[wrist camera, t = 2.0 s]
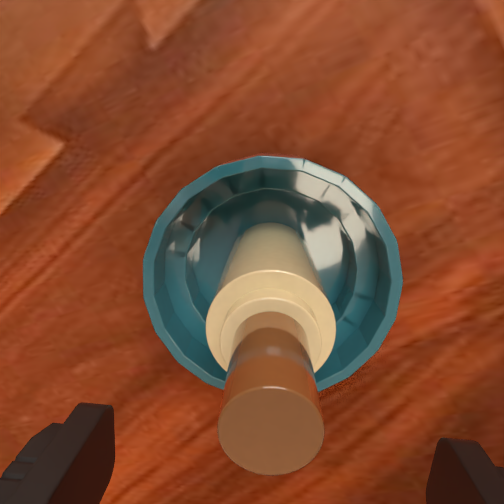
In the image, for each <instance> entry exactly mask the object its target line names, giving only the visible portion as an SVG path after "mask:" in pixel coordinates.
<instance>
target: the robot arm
mask: <svg viewBox="0 0 504 504" xmlns="http://www.w3.org/2000/svg"><path fill="white" fill-rule="evenodd" d="M114 462H115V435H114V410H113V407H112V406H111V405H103V404H93V403H79V404H78V405H77V406H76V407H75V409H74V410H73V411H72V413H71V414H70V415H69V417H68V418H67V419H66V421H65V422H64V424H60V423H52V424H51V425H49V426H48V427H46V428H45V429H43V430H42V431H41V432H39V433H38V434H36V435H35V436H34V437H32V438H31V439H30V440H29V442H28V443H27V444H26V445H25V447H24V448H23V449H22V450H21V451H20V453H19V454H18V455H17V456H16V459H15V461H12V463H11V464H10V465H9V466H8V467H7V469H6V470H5V471H4V472H3V474H2V477H1V478H0V504H99V503H100V501H101V499H102V497H103V495H104V492H105V490H106V488H107V486H108V484H109V481H110V479H111V476H112V472H113V468H114ZM426 502H427V504H504V468H503V467H496V466H495V465H494V464H493V463H492V461H491V460H490V458H489V457H488V455H487V454H486V453H485V451H484V450H483V448H482V447H481V446H480V444H479V443H478V442H476V441H473V440H463V439H452V438H441V439H440V440H439V441H438V443H437V447H436V451H435V455H434V459H433V463H432V467H431V471H430V475H429V479H428V483H427V487H426Z"/></svg>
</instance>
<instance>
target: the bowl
mask: <svg viewBox="0 0 504 504" xmlns="http://www.w3.org/2000/svg"><path fill="white" fill-rule="evenodd" d="M268 222H271V223H280V224H284V225H286V226H289V227H291V228H293V229H294V230H296V231H297V232H298V233H299V234H300V235H301V236H302V237H303V238H304V239H305V241H306V242H307V244H308V246H309V248H310V251H311V253H312V256H313V259H314V261H315V264H316V267H317V269H318V272H319V275H320V277H321V280H322V283H323V285H324V288H325V291H326V294H327V296H328V299H329V302H330V304H331V307H332V310H333V312H334V316H335V320H336V338H335V342H334V346H333V348H332V351H331V353H330V355H329V357H328V359H327V360H326V361H325V363H324V364H323V365H322V366H321V367H320V368H319V369H318V371H316V372H315V373H314V374H315V379H316V384H317V390H318V392H320V391H322V390H324V389H326V388H328V387H330V386H332V385H334V384H336V383H338V382H340V381H342V380H344V379H346V378H348V377H350V376H351V375H352V374H353V373H354V372H355V371H356V370H358V369H359V368H360V367H361V366H362V365H363V364H364V363H365V362H366V361H367V360H368V359H370V358H371V357H372V356H373V355H374V354H375V353H376V351H378V349H379V348H380V346H381V344H382V342H383V341H384V339H385V337H386V335H387V334H388V332H389V330H390V328H391V327H392V325H393V323H394V321H395V318H396V315H397V310H398V305H399V300H400V295H401V290H402V285H403V276H402V269H401V262H400V256H399V249H398V243H397V240H396V238H395V236H394V234H393V232H392V230H391V228H390V227H389V225H388V223H387V221H386V219H385V217H384V215H383V214H382V212H381V210H380V208H379V206H378V205H377V204H376V203H375V202H374V201H373V200H372V199H371V198H370V197H369V196H367V195H366V194H365V193H364V192H363V191H362V190H361V189H360V188H359V187H357V186H356V185H355V184H354V183H353V182H352V181H351V180H350V179H349V178H348V177H346V176H344V175H342V174H340V173H338V172H336V171H334V170H331V169H329V168H327V167H324V166H322V165H320V164H317V163H315V162H313V161H310V160H308V159H306V158H303V157H301V156H297V155H286V154H273V153H259V154H255V155H251V156H247V157H243V158H239V159H235V160H231V161H227V162H225V163H223V164H221V165H218V166H216V167H215V168H213V169H211V170H210V171H208V172H207V173H205V174H204V175H202V176H201V177H199V178H198V179H196V180H194V181H193V182H191V183H190V184H188V185H187V186H185V187H184V188H182V189H181V190H180V191H179V192H178V194H177V195H176V196H175V197H174V199H173V200H172V201H171V202H170V204H169V205H168V206H167V208H166V209H165V210H164V211H163V213H162V214H161V215H160V216H159V218H158V219H157V220H156V223H155V225H154V228H153V231H152V233H151V236H150V239H149V242H148V245H147V248H146V251H145V254H144V257H143V298H144V301H145V304H146V307H147V310H148V313H149V316H150V319H151V322H152V324H153V327H154V330H155V332H156V334H157V335H158V336H159V338H160V339H161V340H162V342H163V343H164V344H165V346H166V347H167V349H168V350H169V351H170V353H171V354H172V355H173V357H174V358H175V359H176V361H178V363H179V364H181V365H182V366H184V367H185V368H186V369H188V370H189V371H190V372H192V373H193V374H194V375H196V376H197V377H198V378H200V379H201V380H202V381H204V382H205V383H207V384H209V385H212V386H214V387H217V388H220V389H222V390H224V385H225V380H226V375H227V372H226V371H225V370H224V369H223V368H222V367H221V366H220V365H219V363H218V362H217V361H216V359H215V358H214V356H213V355H212V352H211V350H210V348H209V345H208V342H207V338H206V318H207V314H208V310H209V307H210V305H211V302H212V299H213V296H214V294H215V291H216V288H217V285H218V283H219V280H220V277H221V275H222V272H223V269H224V266H225V264H226V261H227V258H228V255H229V253H230V250H231V247H232V245H233V243H234V242H235V240H236V239H237V238H238V236H239V235H240V234H241V233H242V232H244V231H245V230H247V229H248V228H250V227H252V226H254V225H257V224H261V223H268Z"/></svg>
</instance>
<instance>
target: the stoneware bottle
mask: <svg viewBox="0 0 504 504" xmlns="http://www.w3.org/2000/svg"><path fill="white" fill-rule="evenodd" d="M206 338H207V342H208V345H209V348H210V350H211V352H212V355H213V356H214V358H215V359H216V361H217V362H218V363H219V365H220V366H221V367H222V368H223V369H224V370H225V371H226V372H227V375H226V380H225V385H224V391H223V396H222V402H221V407H220V412H219V418H218V424H217V433H218V439H219V442H220V444H221V446H222V448H223V450H224V452H225V453H226V455H227V456H228V457H229V458H230V459H231V460H232V461H233V462H234V463H236V464H237V465H238V466H240V467H242V468H244V469H246V470H248V471H250V472H253V473H257V474H262V475H283V474H288V473H291V472H294V471H296V470H299V469H301V468H302V467H304V466H305V465H307V464H308V463H309V462H311V461H312V460H313V459H314V457H315V456H316V455H317V454H318V452H319V450H320V448H321V446H322V443H323V440H324V434H325V428H324V421H323V416H322V411H321V405H320V400H319V395H318V390H317V384H316V379H315V374H314V373H315V372H316V371H318V369H319V368H320V367H321V366H322V365H323V364H324V363H325V361H326V360H327V359H328V357H329V355H330V353H331V351H332V348H333V346H334V342H335V338H336V320H335V316H334V312H333V310H332V307H331V304H330V302H329V299H328V296H327V294H326V291H325V288H324V285H323V283H322V280H321V277H320V275H319V272H318V269H317V267H316V264H315V261H314V259H313V256H312V253H311V251H310V248H309V246H308V244H307V242H306V241H305V239H304V238H303V237H302V236H301V235H300V234H299V233H298V232H297V231H296V230H294V229H293V228H291V227H289V226H286V225H284V224H280V223H271V222H268V223H261V224H257V225H254V226H252V227H250V228H248V229H247V230H245V231H244V232H242V233H241V234H240V235H239V236H238V238H237V239H236V240H235V242H234V243H233V245H232V247H231V250H230V253H229V255H228V258H227V261H226V264H225V266H224V269H223V272H222V275H221V277H220V280H219V283H218V285H217V288H216V291H215V294H214V296H213V299H212V302H211V305H210V307H209V310H208V314H207V318H206Z"/></svg>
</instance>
